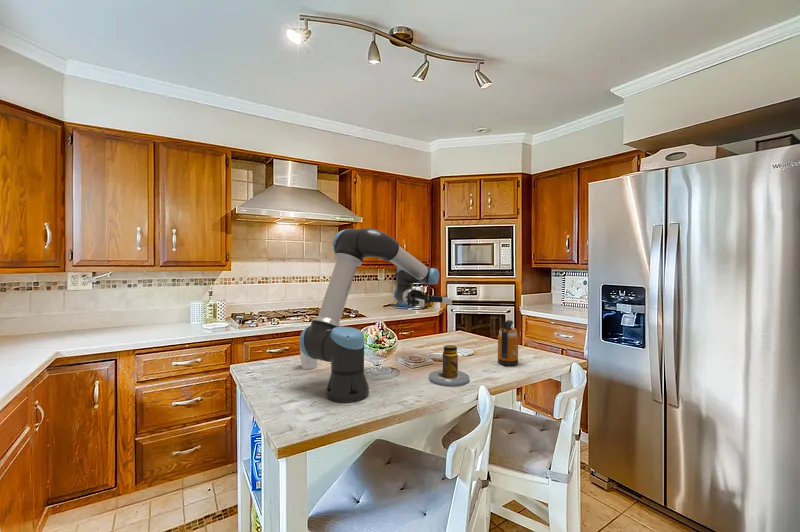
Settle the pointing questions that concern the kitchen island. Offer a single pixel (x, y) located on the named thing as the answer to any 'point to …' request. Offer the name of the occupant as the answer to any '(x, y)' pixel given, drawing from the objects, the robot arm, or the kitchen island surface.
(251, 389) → the kitchen island surface
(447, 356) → the condiment
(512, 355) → the canister
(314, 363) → the white cup
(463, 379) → the trivet
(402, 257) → the robot arm
